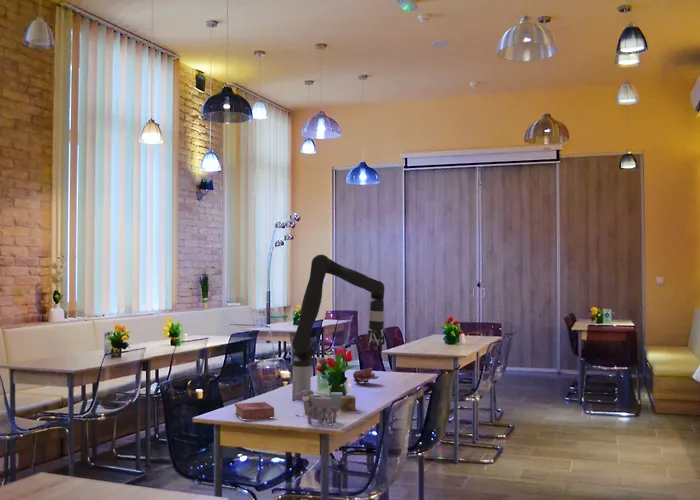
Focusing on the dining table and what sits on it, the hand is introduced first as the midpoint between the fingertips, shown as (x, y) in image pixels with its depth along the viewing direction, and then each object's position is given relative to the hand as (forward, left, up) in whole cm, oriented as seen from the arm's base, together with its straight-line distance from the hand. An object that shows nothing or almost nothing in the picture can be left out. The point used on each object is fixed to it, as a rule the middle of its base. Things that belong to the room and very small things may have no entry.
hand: (375, 351), depth 363 cm
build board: (-18, -23, -25) cm, 38 cm away
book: (-58, -36, -26) cm, 73 cm away
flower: (-1, +52, -25) cm, 58 cm away
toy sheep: (-31, -48, -25) cm, 63 cm away
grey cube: (-20, -17, -24) cm, 36 cm away
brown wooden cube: (-15, -27, -24) cm, 39 cm away
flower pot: (-32, -36, -25) cm, 55 cm away
